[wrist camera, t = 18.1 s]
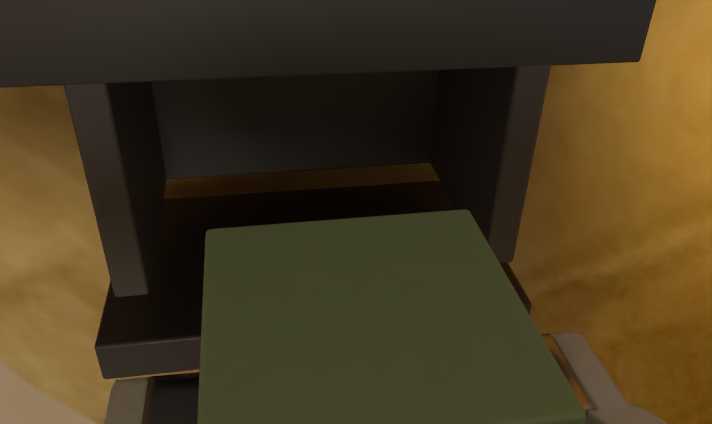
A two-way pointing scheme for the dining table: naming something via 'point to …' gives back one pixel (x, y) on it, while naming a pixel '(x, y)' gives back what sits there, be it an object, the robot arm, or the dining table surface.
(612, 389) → the robot arm
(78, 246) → the dining table surface
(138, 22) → the mini drawer unit
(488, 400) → the block
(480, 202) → the small file drawer box
